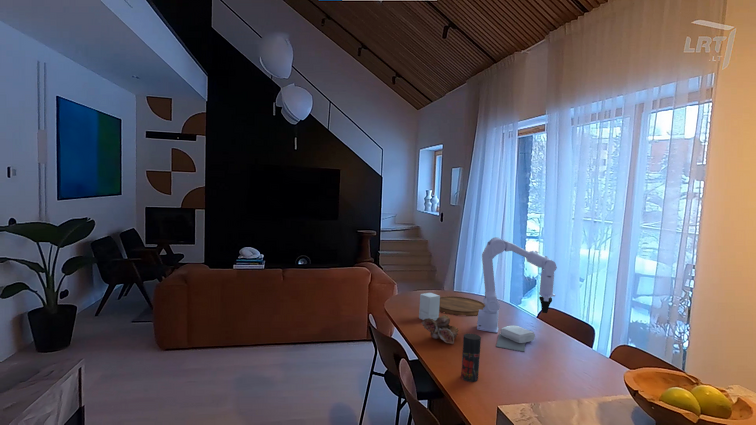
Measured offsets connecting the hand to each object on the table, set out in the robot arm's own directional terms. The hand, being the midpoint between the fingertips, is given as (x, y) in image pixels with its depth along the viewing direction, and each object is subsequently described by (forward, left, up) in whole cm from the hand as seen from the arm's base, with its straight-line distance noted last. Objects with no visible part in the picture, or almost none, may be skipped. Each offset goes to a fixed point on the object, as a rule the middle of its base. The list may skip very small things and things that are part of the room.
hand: (544, 312), depth 195 cm
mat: (-13, -20, -10) cm, 26 cm away
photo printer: (-6, -17, -8) cm, 20 cm away
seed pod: (-41, -31, -11) cm, 53 cm away
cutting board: (-44, +24, -11) cm, 51 cm away
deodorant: (-25, -63, -11) cm, 69 cm away
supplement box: (-54, -6, -11) cm, 55 cm away
